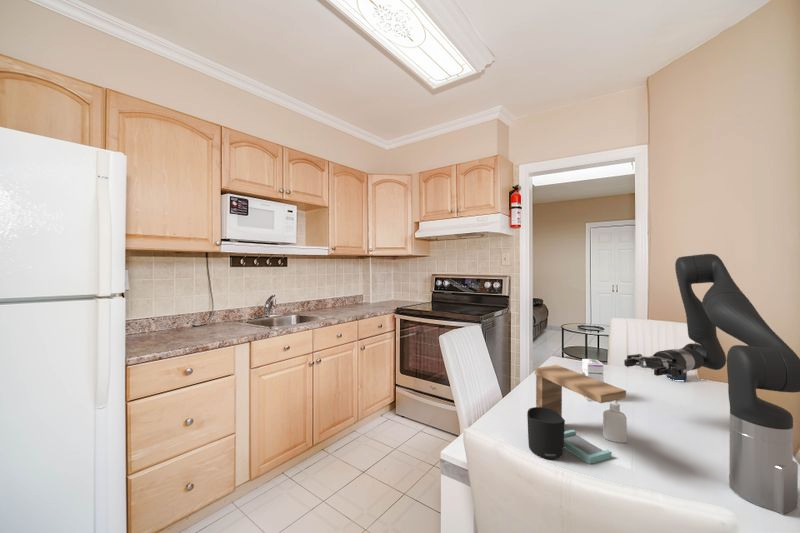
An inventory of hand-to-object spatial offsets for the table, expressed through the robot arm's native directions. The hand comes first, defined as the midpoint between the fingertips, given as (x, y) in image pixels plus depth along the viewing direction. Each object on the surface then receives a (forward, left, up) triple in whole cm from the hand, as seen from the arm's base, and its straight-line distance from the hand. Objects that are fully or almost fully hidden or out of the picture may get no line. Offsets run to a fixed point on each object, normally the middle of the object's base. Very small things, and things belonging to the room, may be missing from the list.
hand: (640, 367), depth 96 cm
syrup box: (+23, -9, -20) cm, 32 cm away
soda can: (+25, -63, -20) cm, 71 cm away
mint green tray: (0, +24, -20) cm, 31 cm away
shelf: (+2, +24, -20) cm, 31 cm away
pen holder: (+2, +35, -20) cm, 40 cm away
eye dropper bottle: (0, +11, -20) cm, 23 cm away
